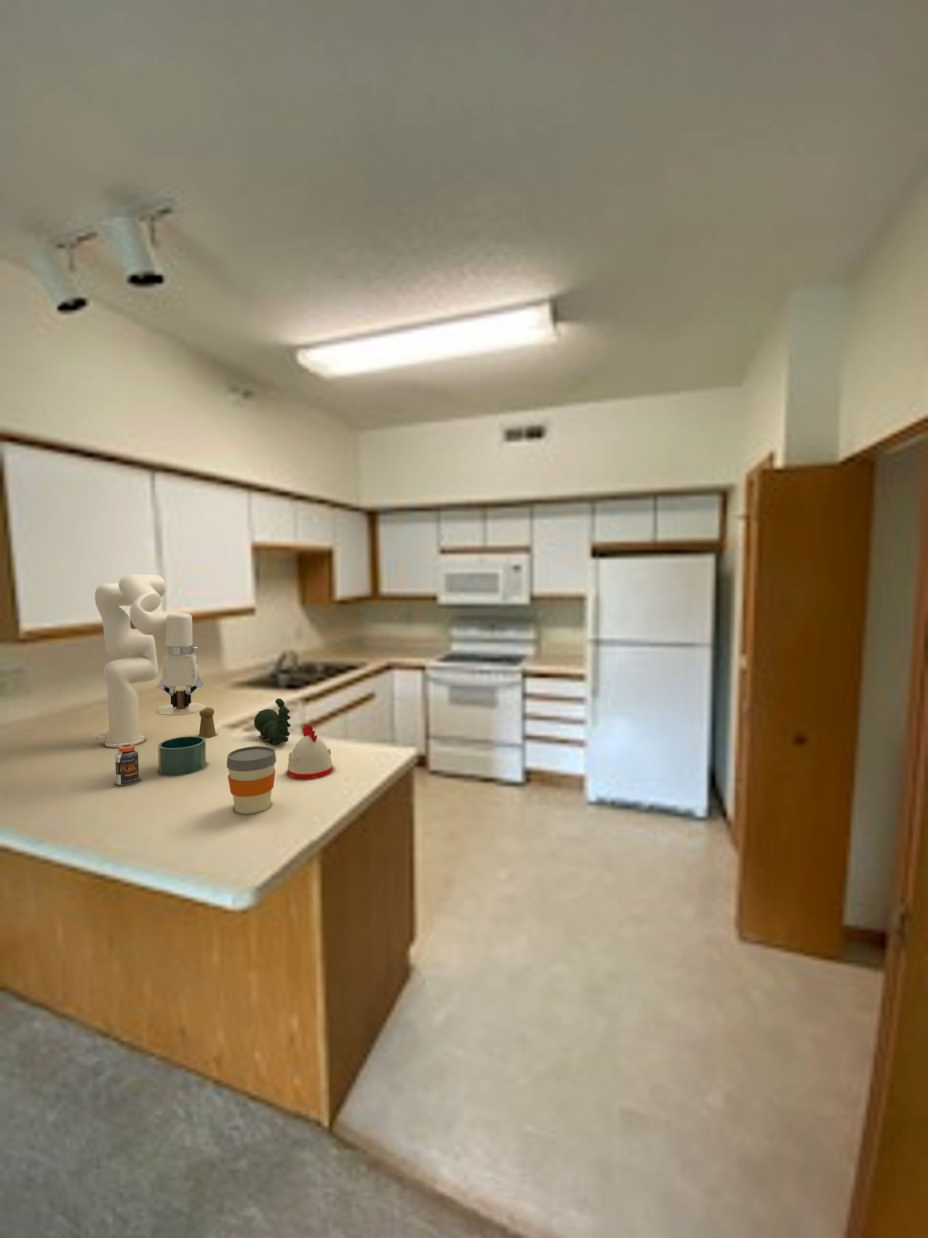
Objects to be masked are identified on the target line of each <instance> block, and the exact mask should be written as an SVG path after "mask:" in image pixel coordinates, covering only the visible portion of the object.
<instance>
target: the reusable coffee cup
mask: <svg viewBox="0 0 928 1238" xmlns="http://www.w3.org/2000/svg"><path fill="white" fill-rule="evenodd" d="M276 762H277V757H276V750H275V749H274V748H273V747H270V746H266V745H265V746H263V745H253V746H245V747H241V748H237V749H235V750H232V751H230V752H229V753H228V754H227V757H226V768H227V769H228V775H227V780H228V785H229V791H230V794H231V795H232V799H233V804H234V810H235V812H236V813H239V814H243V815H244V814H245V815H247V814H248V815H249V814H250V815H251V814H255V813H260V812H263V811H265V810H267V809H268V808H270V806H271V798H272V791H273V789H274V786H275V778H276V768H275V764H276Z"/></svg>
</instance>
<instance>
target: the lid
mask: <svg viewBox="0 0 928 1238" xmlns="http://www.w3.org/2000/svg"><path fill="white" fill-rule="evenodd" d="M175 693H176V707H175V708H173V705H171V703H169V704H165V705H161V706H159V707H157V708H155V711H154V712H155V714H156V715H160V716H170V717H172V716H174V717H176V716H186V715H192V714H196V713H199V712H200V711H202V710H204V709H206V708H207V704H204V703H201V702H191V704H189V706H188V707H186V705H185V695H186V693H187V690H186V688H178V689H175Z"/></svg>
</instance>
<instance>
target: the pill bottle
mask: <svg viewBox="0 0 928 1238" xmlns="http://www.w3.org/2000/svg"><path fill="white" fill-rule="evenodd" d="M135 749H136V748H135V745H133V744H126V745H122V746H119V747H118V753H116V755H115V756H114V758H115V759H114V760H115V783H116V784H117V785H119V786H129V785H132V784H135V783H137V782H138V781H139V780H140V767H139V766H140V764H139V763H140V761H139V752H138V751H137V750H135Z"/></svg>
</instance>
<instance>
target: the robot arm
mask: <svg viewBox="0 0 928 1238" xmlns="http://www.w3.org/2000/svg"><path fill="white" fill-rule="evenodd" d="M166 592H167V584H166V580H165V579H164V578H163V577H162V576H160V575H158V574H147V573H145V574H142V573H141V574H140V573H132V574H126V575H124V576H122V577H121V578H120V579H119V582H107V583H103V584H100V585H98V587H96V589H95V592H94V601H95V605H96V606H95V607H96V608H97V611H98V613H99V615H100V617H101V621H102V628H103V636H104V637H103V638H104V645H105V649H106V652H107V654H108V655H110V656H114V657H116V656H118V657H119V656H120V657H121V656H130V655H131V656H132V655H138V656H139V657H129V658H119V659H114V660H112V661H109V662H107V663H106V664H105V665H104V667H103V678H104V681H105V687H106V690H107V691H106V693H107V710H108V731H107V732H106V733H96V734H95V739H96V740H98V741H102V740H105V741H104V746H105V747H108V748H119V746H122V745H126V744H133V745H134V746H135V745H139V744H141V743H143V742H145V739H146V738H145V736H144V735H142V734H141V733H140V708H139V694H138V692H137V691H136V690H135V689H134V688H133V686H132V684H138V683H144V682H150V681H154V680H155V679H156V678H157V676H158V674H159V665H158V656H157V646H156V641H155V637H154V635H165V636H166V637H165V638H166V643H165V644H166V654H165V655H164V657H163V662H162V676H161V679H160V681H159V683H158V684H157V689H159V690H162V691H165V692H166V693H167V694H168V695H169V696H170V704H171V705H173V708H175V707H176V687H185V689H186V695H185V705H186V707H188V706H189V704H191V703H192V694H193V693H194V692H195V691H196V690H197V689H199V688H201V687H203V686H204V682H203V681H202V679H201V678H200V676H199V666H198V658H197V654H196V653H195V652H198V651H199V647H198V646H194V643H193V642H194V641H193V617H192V614H191V613H188V612H181V611H179V610H161V611H156V610H157V609H158V608H159V607H160V605H161V602H162V597H164V595H165V594H166ZM126 606H127V607H128V606H129V607H130V609H129V615H128V613H127V612H126V611H125V609H123V608H122V607H126ZM131 623H132V625H133V627H135V628H132V627H131Z"/></svg>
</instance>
